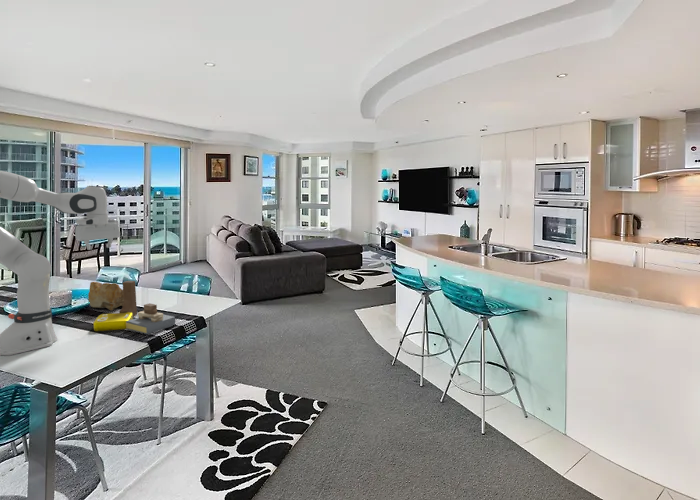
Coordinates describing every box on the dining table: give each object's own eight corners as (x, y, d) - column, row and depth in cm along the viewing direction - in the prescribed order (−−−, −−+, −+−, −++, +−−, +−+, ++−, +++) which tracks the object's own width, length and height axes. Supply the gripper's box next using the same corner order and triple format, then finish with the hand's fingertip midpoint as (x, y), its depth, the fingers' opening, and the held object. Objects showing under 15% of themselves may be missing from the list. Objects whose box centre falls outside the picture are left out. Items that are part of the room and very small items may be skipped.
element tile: (128, 329, 210) (128, 319, 209) (92, 332, 205) (92, 322, 204) (133, 320, 224) (133, 311, 223) (100, 322, 219) (99, 313, 218)
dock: (146, 334, 202) (145, 326, 201) (126, 329, 208) (125, 321, 208) (175, 324, 216) (175, 316, 215) (155, 320, 222) (155, 312, 222)
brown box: (151, 314, 208) (150, 306, 208) (144, 313, 211) (143, 304, 210) (157, 312, 211) (156, 304, 211) (150, 311, 214) (149, 303, 213)
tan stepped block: (155, 322, 207) (154, 316, 206) (138, 318, 212) (138, 312, 212) (163, 319, 211) (163, 313, 210) (146, 315, 216) (146, 309, 216)
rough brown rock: (138, 308, 245) (138, 281, 244) (107, 313, 231) (107, 284, 231) (115, 303, 258) (115, 277, 257) (85, 307, 244) (85, 280, 243)
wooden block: (128, 319, 223) (126, 284, 221) (119, 319, 223) (117, 284, 221) (137, 314, 232) (135, 280, 229) (128, 314, 232) (126, 280, 230)
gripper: (114, 218, 223) (115, 245, 225) (72, 220, 206) (74, 250, 208) (121, 219, 220) (123, 246, 222) (80, 221, 203) (82, 251, 205)
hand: (99, 248), depth 215 cm, fingers open, 8 cm apart
